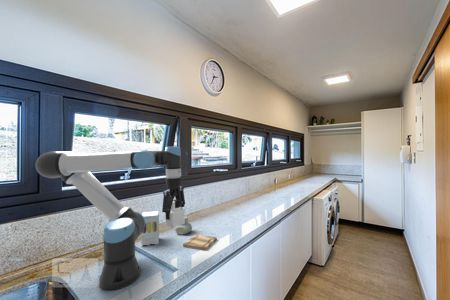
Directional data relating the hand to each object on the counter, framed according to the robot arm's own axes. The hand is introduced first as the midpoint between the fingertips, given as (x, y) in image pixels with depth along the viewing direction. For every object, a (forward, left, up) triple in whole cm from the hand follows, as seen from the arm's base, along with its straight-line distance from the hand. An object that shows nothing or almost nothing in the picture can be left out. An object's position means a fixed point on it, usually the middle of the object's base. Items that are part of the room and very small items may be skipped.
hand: (174, 222), depth 101 cm
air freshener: (+28, +14, -18) cm, 36 cm away
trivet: (+18, -4, -17) cm, 25 cm away
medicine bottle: (0, 0, -1) cm, 1 cm away
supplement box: (+10, +25, -18) cm, 32 cm away
